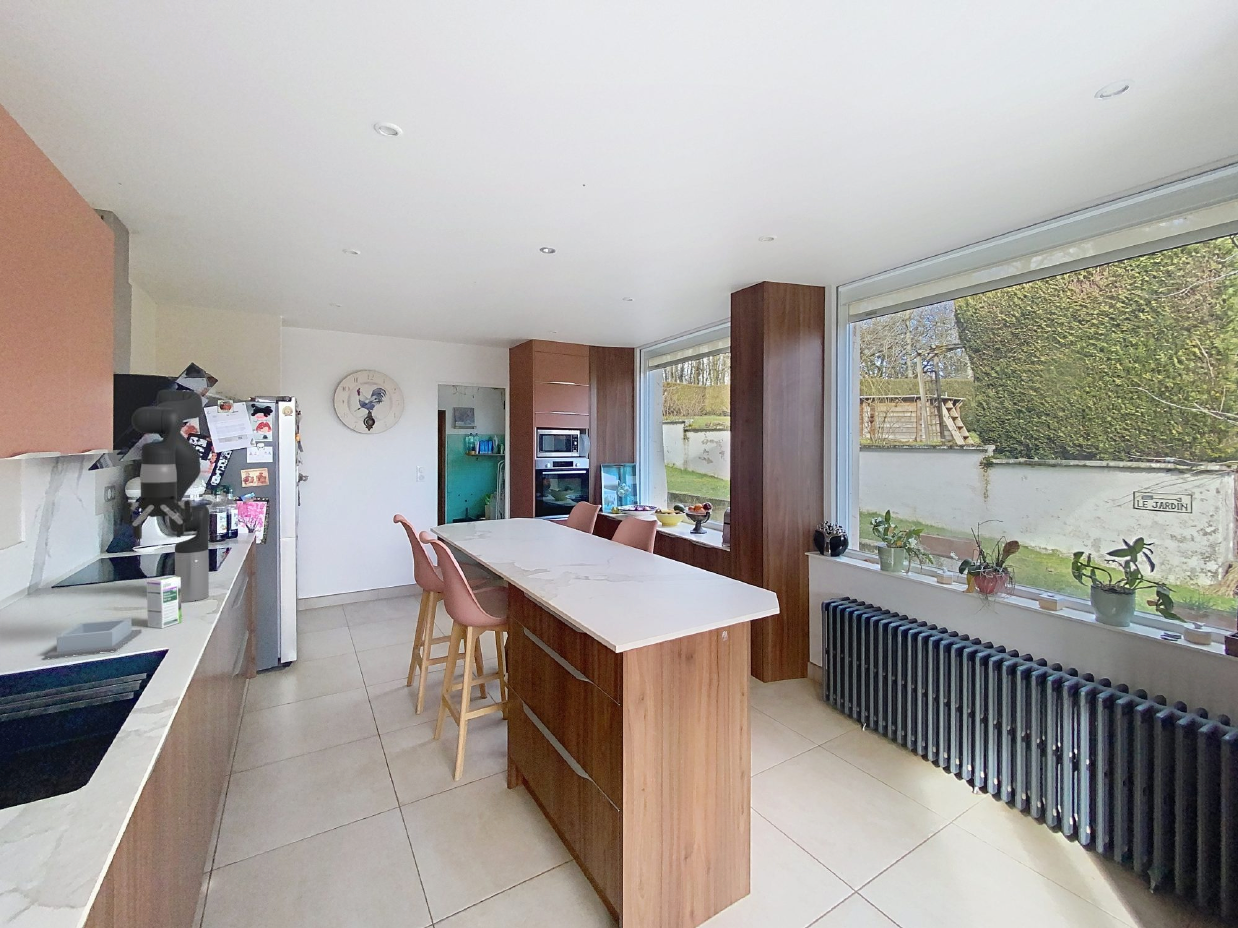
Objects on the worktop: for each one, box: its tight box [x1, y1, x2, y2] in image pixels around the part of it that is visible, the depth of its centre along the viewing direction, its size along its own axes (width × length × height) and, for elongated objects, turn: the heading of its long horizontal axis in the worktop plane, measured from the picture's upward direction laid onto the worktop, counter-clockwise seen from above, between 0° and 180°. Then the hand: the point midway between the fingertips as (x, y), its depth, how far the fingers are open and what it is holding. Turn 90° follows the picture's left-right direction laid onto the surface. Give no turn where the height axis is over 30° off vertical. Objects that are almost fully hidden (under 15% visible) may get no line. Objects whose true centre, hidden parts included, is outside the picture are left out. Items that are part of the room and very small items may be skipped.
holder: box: [43, 618, 142, 660], centre depth 141 cm, size 15×14×5 cm
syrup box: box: [146, 575, 182, 629], centre depth 157 cm, size 6×6×14 cm
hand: (159, 538), depth 144 cm, fingers open, 8 cm apart
